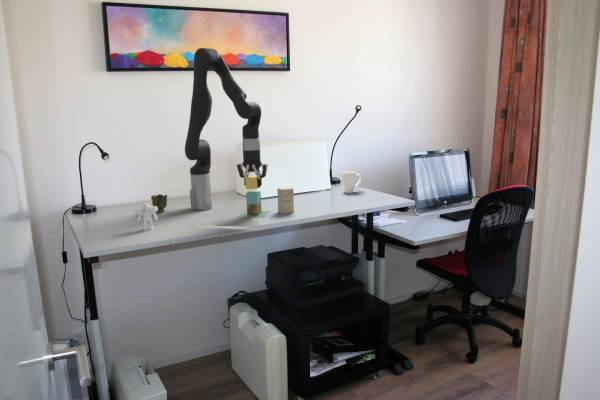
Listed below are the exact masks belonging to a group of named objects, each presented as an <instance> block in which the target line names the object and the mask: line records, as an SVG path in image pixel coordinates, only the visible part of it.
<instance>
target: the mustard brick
mask: <svg viewBox="0 0 600 400" xmlns="http://www.w3.org/2000/svg"><path fill="white" fill-rule="evenodd" d="M257 179H258V178H257V175H249V176H248V177H246V178H245V182H246V186H245V189H246V190H258V189H260V188H261V187H259V188H258V183H257Z"/></svg>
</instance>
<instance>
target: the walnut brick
mask: <svg viewBox="0 0 600 400" xmlns="http://www.w3.org/2000/svg"><path fill="white" fill-rule="evenodd" d="M246 210H247V215H259V214H261V213H262V211H263V210H262V201H261V202H260V203H259V204H257V205H256V204H247V203H246Z"/></svg>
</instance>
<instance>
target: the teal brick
mask: <svg viewBox="0 0 600 400" xmlns="http://www.w3.org/2000/svg"><path fill="white" fill-rule="evenodd" d="M261 193H262V191H261V190H249V191H247V192H246V193H245V195H246V196H245V197H246V205H247V204H256V205H257V204H259V203H260V202H261V203H262V196H261Z"/></svg>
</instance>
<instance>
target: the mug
mask: <svg viewBox="0 0 600 400" xmlns="http://www.w3.org/2000/svg"><path fill="white" fill-rule="evenodd" d="M340 176H341V177H340V178H341V180H340V182H341V186H342V188H343V191H344V193H345V194H353V193H354V191H355V189H356V187H357V186H359V184H360V183H361V182H362V175H361V174H360V173H357V171H355V170H344V171H343V170H342V171H341V174H340ZM357 176H359V180H357V179H358V177H357Z"/></svg>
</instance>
